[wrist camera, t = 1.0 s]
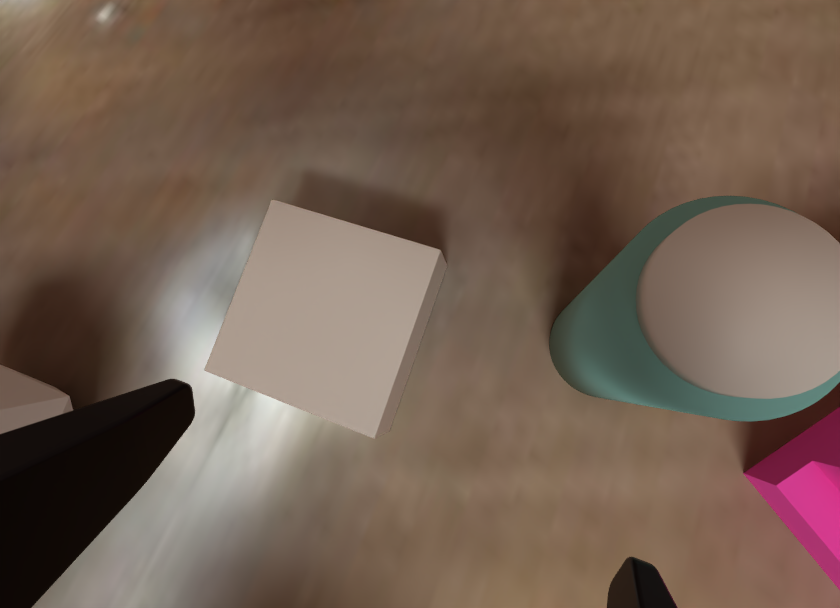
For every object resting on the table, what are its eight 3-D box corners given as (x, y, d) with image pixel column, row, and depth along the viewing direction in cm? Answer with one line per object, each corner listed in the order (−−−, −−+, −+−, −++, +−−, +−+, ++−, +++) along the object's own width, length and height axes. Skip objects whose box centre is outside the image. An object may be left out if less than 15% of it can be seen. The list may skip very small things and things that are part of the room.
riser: (389, 431, 23) (374, 438, 20) (238, 371, 25) (204, 370, 22) (447, 265, 24) (440, 250, 21) (297, 219, 26) (272, 199, 23)
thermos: (641, 413, 21) (862, 464, 9) (536, 377, 22) (592, 374, 10) (670, 312, 22) (922, 217, 9) (566, 281, 23) (659, 155, 10)
